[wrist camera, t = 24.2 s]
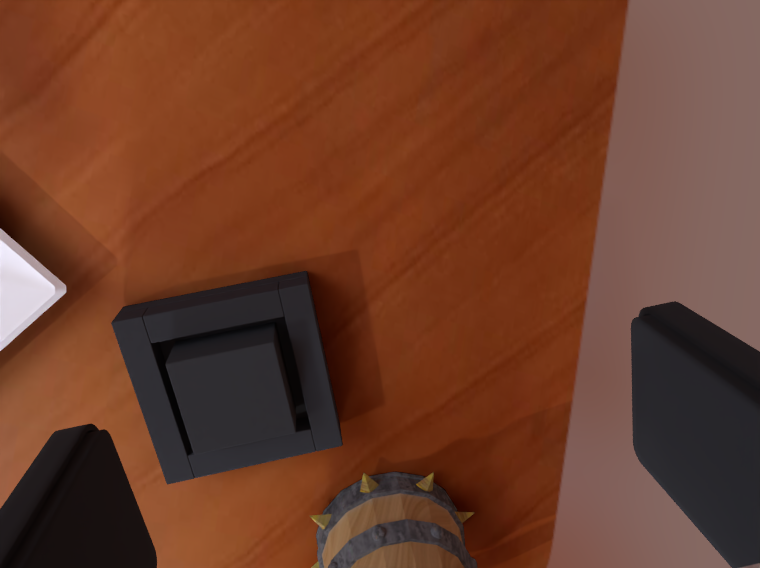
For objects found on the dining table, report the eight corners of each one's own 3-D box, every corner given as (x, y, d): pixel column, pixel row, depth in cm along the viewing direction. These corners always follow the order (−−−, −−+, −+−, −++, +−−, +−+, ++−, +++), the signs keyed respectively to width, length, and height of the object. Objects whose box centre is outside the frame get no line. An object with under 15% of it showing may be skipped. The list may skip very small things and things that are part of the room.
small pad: (275, 321, 35) (274, 341, 33) (295, 406, 37) (296, 433, 35) (174, 341, 35) (164, 364, 32) (201, 427, 37) (193, 455, 34)
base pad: (307, 270, 36) (308, 283, 33) (339, 424, 39) (342, 445, 37) (122, 306, 35) (110, 322, 32) (174, 460, 39) (166, 484, 36)
